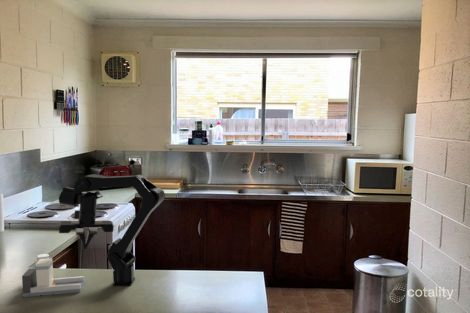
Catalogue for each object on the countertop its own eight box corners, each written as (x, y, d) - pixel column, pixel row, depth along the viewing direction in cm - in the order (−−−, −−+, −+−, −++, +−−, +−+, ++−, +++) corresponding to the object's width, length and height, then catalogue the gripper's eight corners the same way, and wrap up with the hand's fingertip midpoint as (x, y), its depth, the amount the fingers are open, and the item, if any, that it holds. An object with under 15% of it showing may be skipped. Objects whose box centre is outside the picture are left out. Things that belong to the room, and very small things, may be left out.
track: (84, 283, 142) (83, 264, 141) (80, 292, 134) (79, 272, 134) (30, 287, 139) (29, 268, 138) (22, 297, 131) (21, 276, 130)
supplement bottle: (45, 283, 142) (44, 258, 141) (32, 282, 143) (31, 257, 142) (55, 278, 147) (53, 253, 146) (42, 277, 148) (41, 252, 147)
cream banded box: (53, 282, 139) (52, 258, 138) (49, 288, 134) (48, 263, 133) (41, 283, 138) (40, 258, 137) (36, 289, 133) (35, 263, 132)
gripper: (111, 202, 153) (109, 240, 155) (60, 202, 146) (58, 242, 148) (115, 210, 143) (112, 250, 145) (60, 210, 136) (57, 253, 137)
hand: (85, 248), depth 144 cm, fingers closed
